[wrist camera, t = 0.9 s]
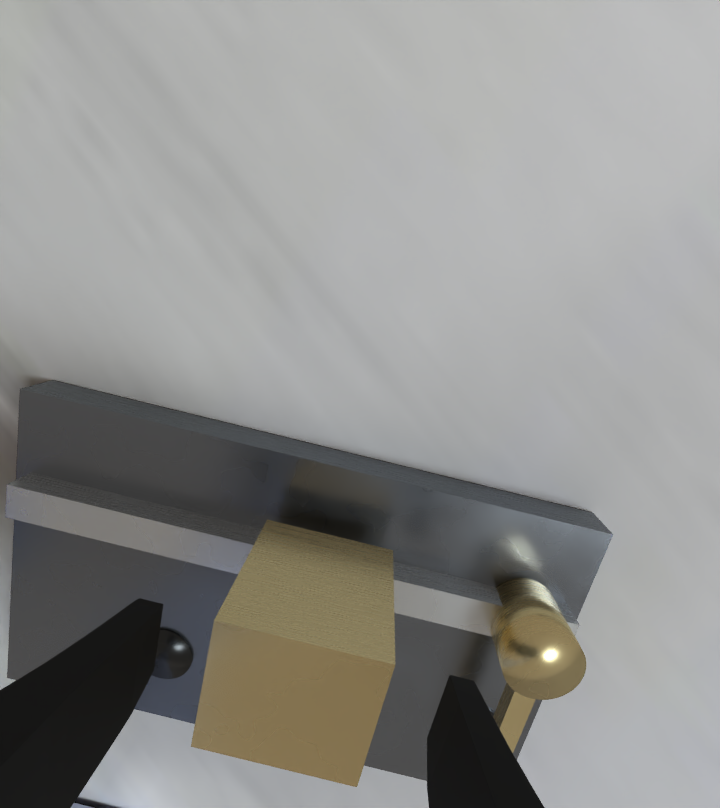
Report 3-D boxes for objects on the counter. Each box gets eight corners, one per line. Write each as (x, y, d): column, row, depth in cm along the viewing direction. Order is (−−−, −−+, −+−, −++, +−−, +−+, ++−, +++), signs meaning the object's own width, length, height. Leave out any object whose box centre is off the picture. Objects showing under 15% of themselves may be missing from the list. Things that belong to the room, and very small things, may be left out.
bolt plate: (491, 760, 19) (517, 879, 15) (35, 648, 19) (-54, 738, 15) (592, 512, 16) (657, 582, 12) (52, 380, 16) (-53, 408, 12)
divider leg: (341, 713, 17) (320, 901, 12) (236, 688, 17) (169, 864, 12) (392, 534, 15) (395, 664, 10) (274, 505, 15) (214, 620, 10)
